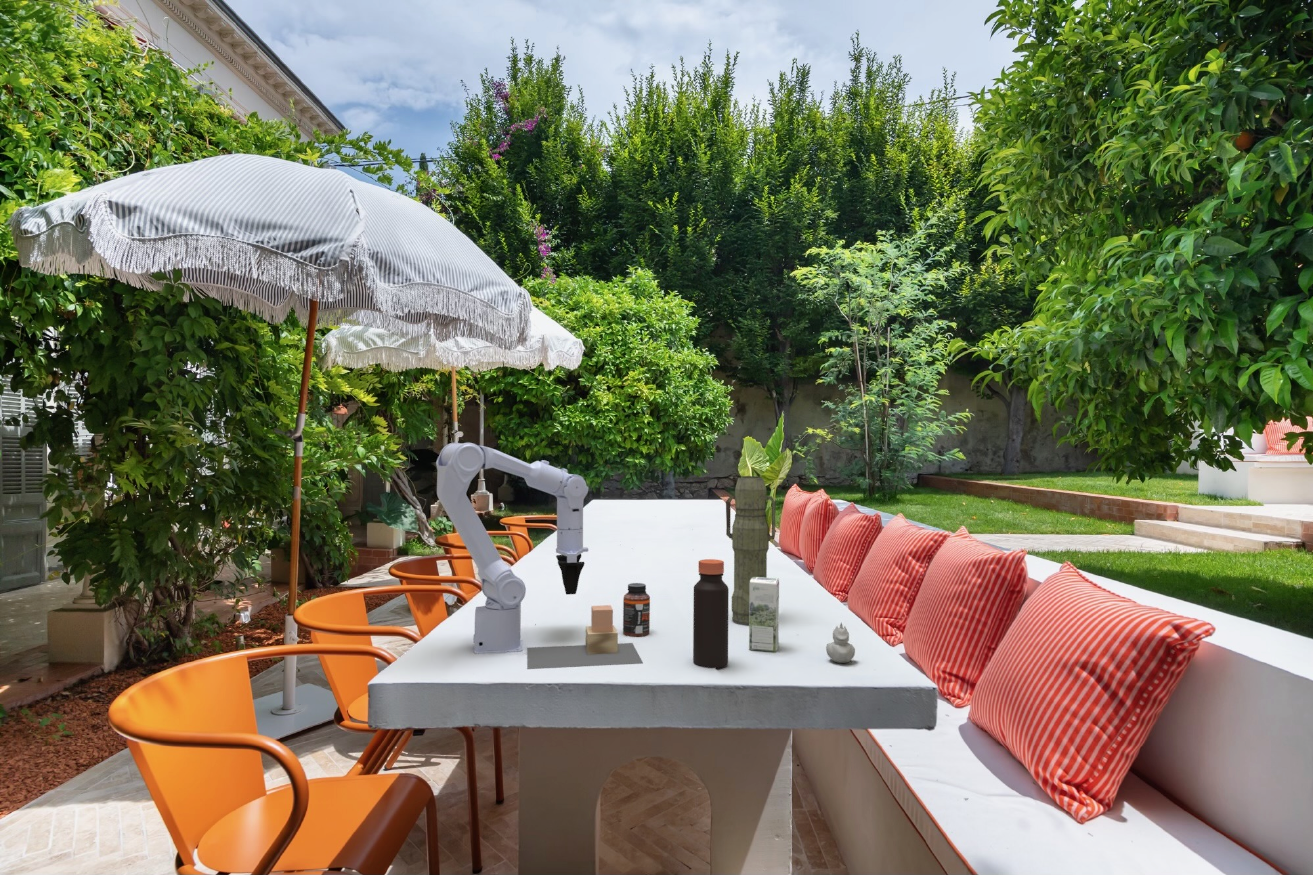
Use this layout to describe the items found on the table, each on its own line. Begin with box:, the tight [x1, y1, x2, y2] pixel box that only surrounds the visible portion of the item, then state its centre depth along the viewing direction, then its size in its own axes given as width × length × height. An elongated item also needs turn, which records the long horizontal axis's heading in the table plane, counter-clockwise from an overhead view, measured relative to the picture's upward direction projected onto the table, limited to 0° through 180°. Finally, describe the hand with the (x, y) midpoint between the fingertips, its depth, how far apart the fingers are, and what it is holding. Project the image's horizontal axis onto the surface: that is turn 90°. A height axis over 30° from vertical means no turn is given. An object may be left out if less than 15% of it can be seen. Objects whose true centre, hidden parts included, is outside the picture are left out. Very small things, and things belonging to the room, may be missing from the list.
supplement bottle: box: [622, 582, 651, 638], centre depth 157 cm, size 6×6×11 cm
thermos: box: [725, 475, 776, 627], centre depth 170 cm, size 9×12×35 cm
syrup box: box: [748, 577, 780, 653], centre depth 148 cm, size 6×6×14 cm
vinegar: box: [692, 558, 729, 670], centre depth 137 cm, size 7×7×20 cm
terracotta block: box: [590, 604, 614, 633], centre depth 145 cm, size 4×4×4 cm
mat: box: [526, 642, 644, 670], centre depth 140 cm, size 22×14×1 cm, turn 100°
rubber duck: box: [825, 621, 856, 664], centre depth 139 cm, size 5×7×8 cm
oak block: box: [585, 624, 619, 654], centre depth 145 cm, size 6×6×4 cm
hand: (569, 590), depth 155 cm, fingers open, 7 cm apart
